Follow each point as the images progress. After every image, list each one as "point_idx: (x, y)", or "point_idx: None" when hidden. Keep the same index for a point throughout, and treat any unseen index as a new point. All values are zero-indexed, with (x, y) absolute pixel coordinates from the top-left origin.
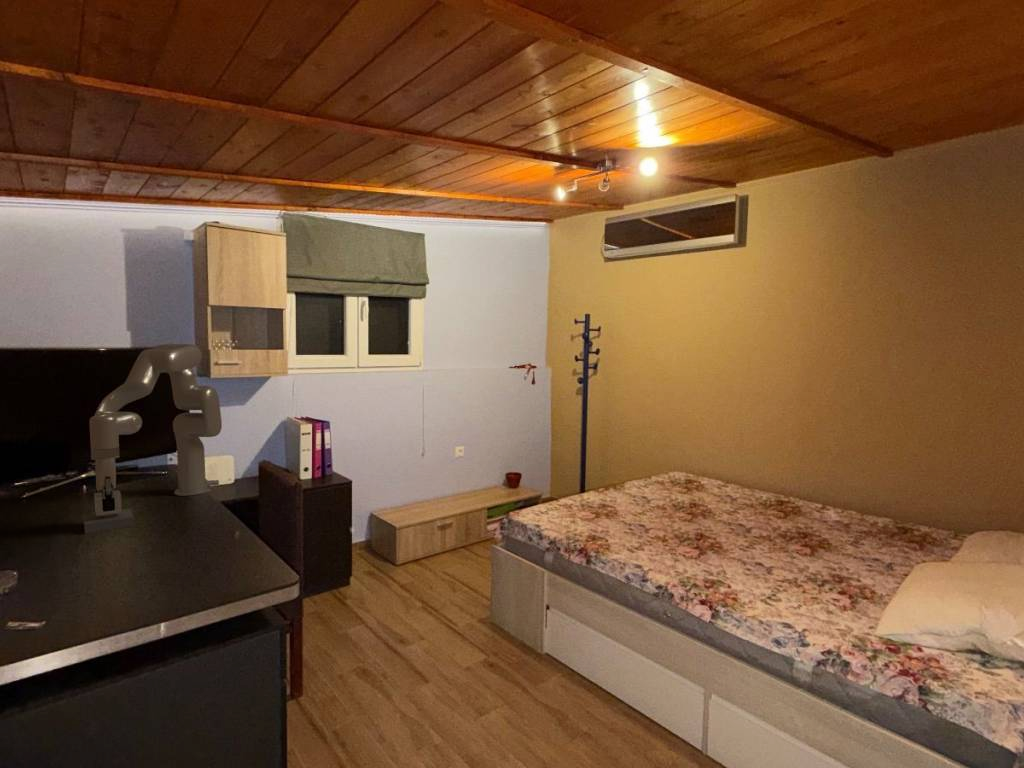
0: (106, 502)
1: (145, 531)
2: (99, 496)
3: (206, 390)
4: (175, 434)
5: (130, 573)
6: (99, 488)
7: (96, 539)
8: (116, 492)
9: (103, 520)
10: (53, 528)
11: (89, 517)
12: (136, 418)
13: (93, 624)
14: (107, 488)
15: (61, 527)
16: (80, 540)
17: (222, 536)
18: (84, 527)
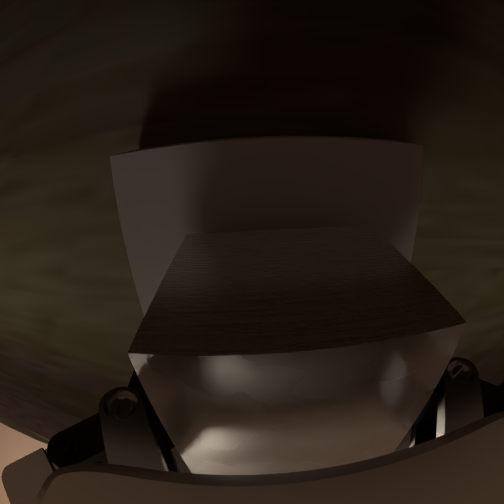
0: (135, 377)
1: (93, 363)
2: (169, 393)
3: None
4: None
5: None
6: (40, 489)
7: (37, 213)
8: (297, 470)
9: (156, 264)
10: (398, 13)
11: (319, 176)
12: None
13: None
14: (9, 485)
15: (399, 42)
16: (46, 147)
17: (38, 427)
18: (198, 141)
